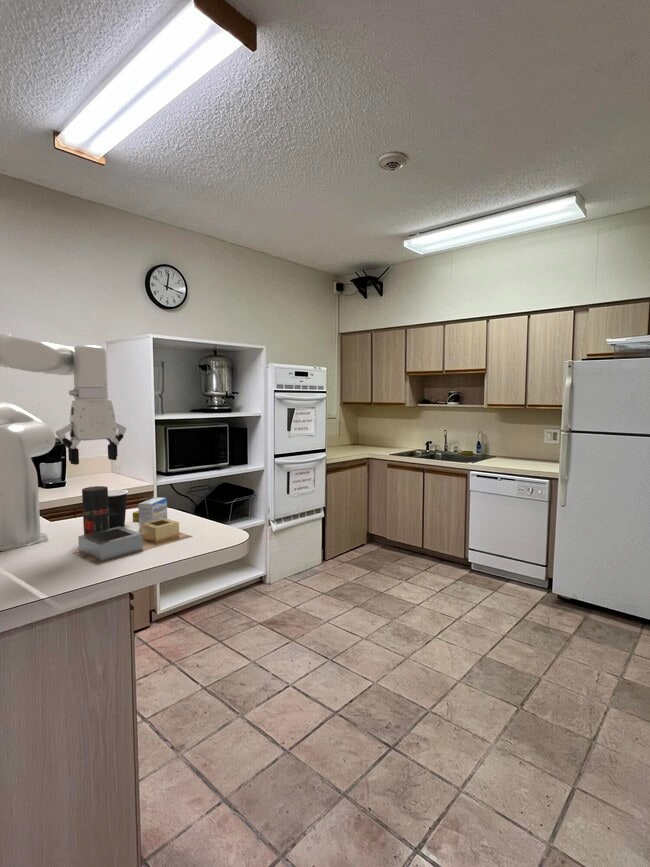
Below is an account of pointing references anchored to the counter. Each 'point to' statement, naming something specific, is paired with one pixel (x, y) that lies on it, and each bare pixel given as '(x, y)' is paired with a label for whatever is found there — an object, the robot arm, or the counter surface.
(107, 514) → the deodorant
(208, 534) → the counter surface
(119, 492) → the dixie cup
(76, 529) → the counter surface
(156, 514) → the medicine box
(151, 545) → the fitting board
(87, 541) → the grey open tray
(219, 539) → the counter surface
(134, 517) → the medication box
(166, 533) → the tan wooden open box
